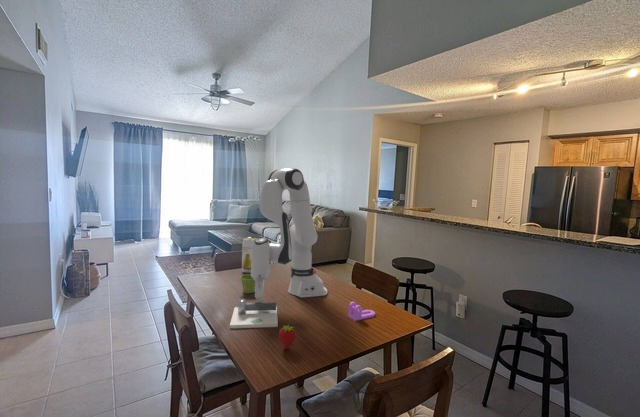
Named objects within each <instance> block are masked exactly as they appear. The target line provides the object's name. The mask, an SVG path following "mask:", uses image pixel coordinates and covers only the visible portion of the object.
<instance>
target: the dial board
mask: <svg viewBox="0 0 640 417" xmlns="http://www.w3.org/2000/svg"><path fill="white" fill-rule="evenodd" d="M278 320H279V318H278V306H277V305H276V310H258V311H246V313H245V314H238V306H235V307H234V308H233V313H232V317H231V319H230V323H229V329H255V328H278V324H279V323H278V322H279V321H278Z"/></svg>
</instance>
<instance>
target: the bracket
mask: <svg viewBox="0 0 640 417" xmlns="http://www.w3.org/2000/svg"><path fill="white" fill-rule="evenodd" d="M348 304H349V305H348V312H347V314H348V317H349V318H350V319H351V320H353V321H354V322H356V321H360V320H365V319H370V318H374V317H375V316H376V312H375V311H374V310H372V309H365V310H363V307H362V306H361V305H360V304H358V303H357V302H355V301H350V302H349V303H348Z"/></svg>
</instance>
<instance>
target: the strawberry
mask: <svg viewBox="0 0 640 417" xmlns="http://www.w3.org/2000/svg"><path fill="white" fill-rule="evenodd" d="M289 325H290V322H289V323H288V324H287V325H284V324H283V327H281V328H280V329H279V332H278V336H279V337H278V338H279V341H280V342H281V344H282V346H283V347H284V349H287V350H288V349H289V348H290V347H291V346H292V344H294V342H295V340H296V335H297V334H296V331H295V329H294V328H296V326H289Z"/></svg>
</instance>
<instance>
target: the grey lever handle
mask: <svg viewBox="0 0 640 417" xmlns="http://www.w3.org/2000/svg"><path fill="white" fill-rule="evenodd" d="M237 302H238V303H237V307H238V314H245V313H246V311H258V310H276V306H277V302H276V301H275V302H273V301H271V302H261V303H257V302H247V299H246V298H245V299H244V298H241V299H238V301H237Z"/></svg>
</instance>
